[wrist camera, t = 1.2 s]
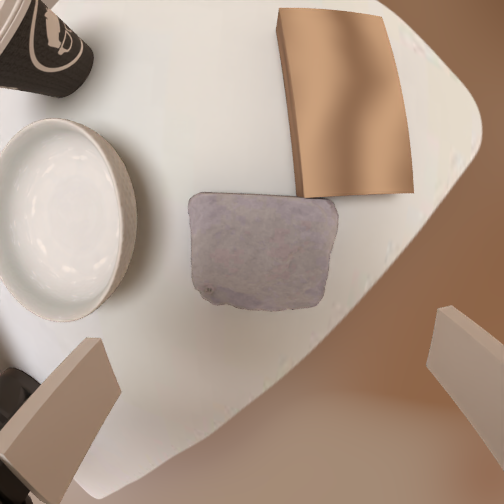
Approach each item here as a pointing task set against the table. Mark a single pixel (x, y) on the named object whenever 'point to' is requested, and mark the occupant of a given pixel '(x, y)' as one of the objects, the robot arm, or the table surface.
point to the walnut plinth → (343, 104)
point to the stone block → (261, 249)
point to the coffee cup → (40, 50)
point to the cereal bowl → (64, 219)
